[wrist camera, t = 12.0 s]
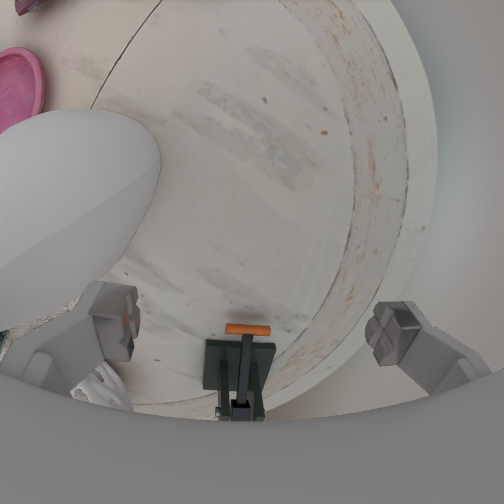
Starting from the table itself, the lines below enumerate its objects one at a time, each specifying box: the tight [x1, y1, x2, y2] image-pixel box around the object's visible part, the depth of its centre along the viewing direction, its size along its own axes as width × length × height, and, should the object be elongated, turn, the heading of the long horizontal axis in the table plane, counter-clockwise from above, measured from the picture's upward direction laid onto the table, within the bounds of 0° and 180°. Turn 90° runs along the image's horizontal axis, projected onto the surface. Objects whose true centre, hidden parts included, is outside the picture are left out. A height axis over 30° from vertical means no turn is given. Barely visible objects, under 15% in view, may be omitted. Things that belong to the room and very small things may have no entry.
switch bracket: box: [203, 340, 276, 421], centre depth 33 cm, size 10×9×10 cm
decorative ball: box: [70, 360, 134, 412], centre depth 29 cm, size 20×20×17 cm
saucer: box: [0, 47, 45, 134], centre depth 17 cm, size 12×12×3 cm
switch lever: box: [225, 323, 271, 421], centre depth 31 cm, size 13×5×2 cm
